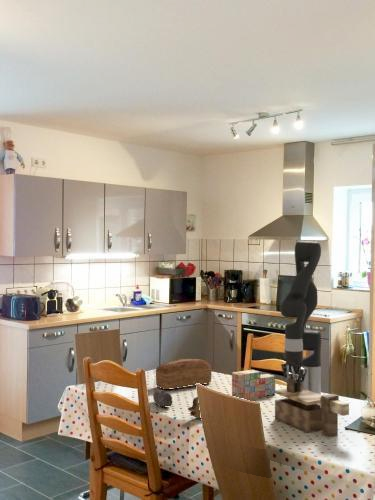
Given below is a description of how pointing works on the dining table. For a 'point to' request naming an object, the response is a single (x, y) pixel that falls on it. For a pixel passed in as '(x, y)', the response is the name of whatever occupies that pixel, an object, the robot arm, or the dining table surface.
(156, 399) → the perforated stone tool
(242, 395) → the stack of blocks
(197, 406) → the wooden carving
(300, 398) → the lid
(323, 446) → the dining table surface
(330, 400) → the wooden key
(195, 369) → the bread
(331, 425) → the brown wooden blocky piece
